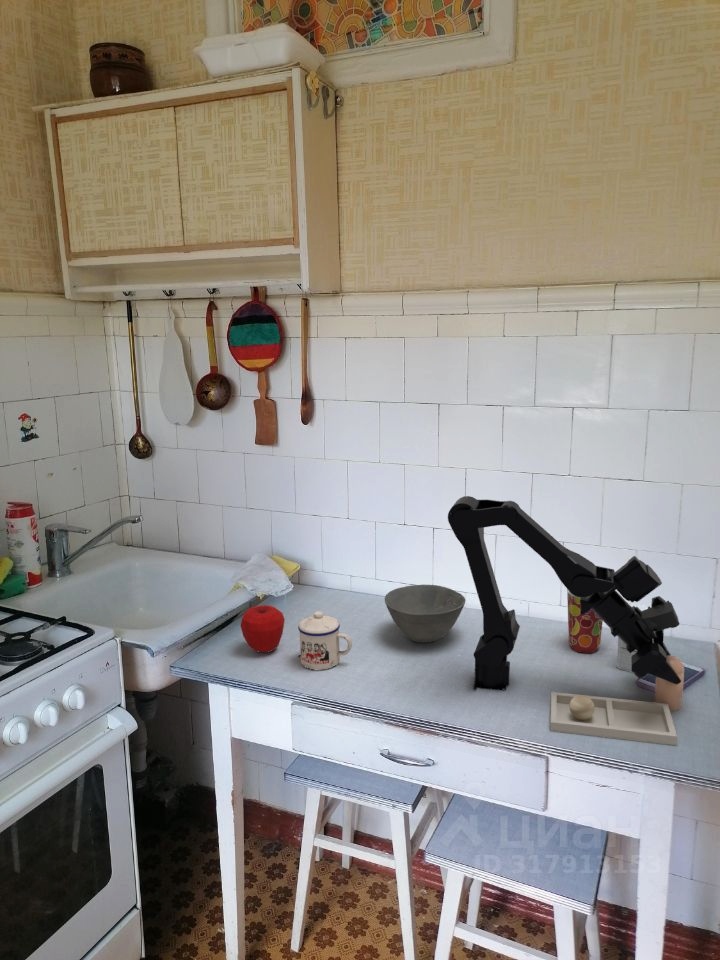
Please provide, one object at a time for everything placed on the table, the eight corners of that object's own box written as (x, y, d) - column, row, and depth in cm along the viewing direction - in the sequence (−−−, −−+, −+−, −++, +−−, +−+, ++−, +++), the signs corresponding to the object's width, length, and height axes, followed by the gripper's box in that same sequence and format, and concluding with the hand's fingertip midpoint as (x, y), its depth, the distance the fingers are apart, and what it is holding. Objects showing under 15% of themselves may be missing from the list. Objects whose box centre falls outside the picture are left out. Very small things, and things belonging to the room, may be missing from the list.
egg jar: (655, 712, 136) (659, 661, 133) (652, 699, 140) (655, 650, 138) (683, 715, 134) (687, 663, 132) (679, 702, 139) (682, 652, 137)
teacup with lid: (293, 668, 157) (290, 618, 154) (309, 650, 165) (307, 602, 163) (345, 675, 153) (343, 624, 150) (359, 657, 161) (357, 608, 159)
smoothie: (581, 636, 168) (585, 555, 164) (611, 649, 161) (615, 564, 157) (557, 645, 164) (559, 562, 159) (586, 659, 157) (590, 572, 153)
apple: (235, 656, 163) (232, 611, 161) (254, 638, 172) (251, 596, 170) (275, 662, 160) (272, 616, 158) (292, 643, 169) (290, 600, 166)
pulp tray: (550, 733, 130) (550, 722, 129) (550, 702, 140) (551, 691, 139) (676, 748, 124) (677, 736, 124) (667, 715, 134) (667, 703, 134)
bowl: (478, 649, 163) (478, 608, 161) (398, 660, 159) (397, 618, 157) (448, 617, 181) (448, 579, 179) (376, 626, 177) (375, 588, 175)
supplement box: (627, 655, 158) (631, 601, 156) (662, 665, 154) (666, 609, 151) (615, 668, 153) (618, 612, 150) (651, 678, 148) (655, 621, 145)
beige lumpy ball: (569, 723, 132) (570, 701, 131) (568, 710, 136) (569, 689, 135) (594, 725, 131) (595, 703, 130) (593, 713, 135) (594, 691, 134)
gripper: (656, 609, 125) (721, 675, 124) (650, 573, 142) (707, 631, 141) (605, 645, 129) (668, 710, 128) (606, 606, 146) (661, 663, 145)
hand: (678, 676), depth 135 cm, fingers closed on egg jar, 5 cm apart
